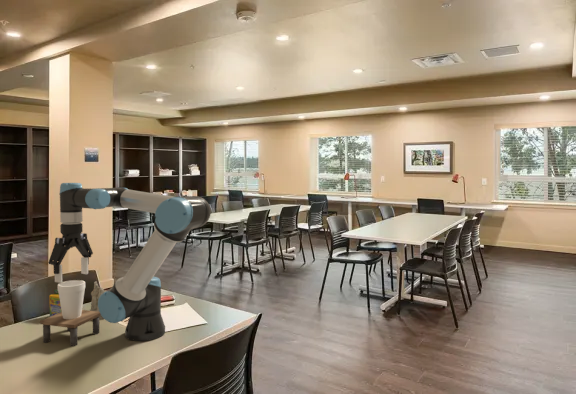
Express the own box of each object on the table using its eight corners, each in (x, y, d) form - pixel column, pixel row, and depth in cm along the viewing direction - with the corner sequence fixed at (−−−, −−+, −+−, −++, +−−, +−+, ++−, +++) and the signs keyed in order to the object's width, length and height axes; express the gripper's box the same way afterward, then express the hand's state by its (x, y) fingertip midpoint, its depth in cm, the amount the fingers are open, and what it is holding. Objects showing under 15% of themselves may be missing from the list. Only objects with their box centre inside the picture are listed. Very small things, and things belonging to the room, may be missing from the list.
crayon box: (49, 317, 182) (48, 291, 182) (54, 314, 185) (54, 289, 185) (62, 319, 180) (62, 292, 180) (67, 316, 183) (67, 291, 182)
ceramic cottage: (97, 320, 179) (99, 285, 179) (84, 312, 190) (85, 279, 191) (132, 314, 190) (134, 282, 190) (118, 307, 201) (119, 276, 202)
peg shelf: (101, 332, 167) (101, 312, 166) (74, 347, 152) (74, 325, 152) (70, 328, 170) (70, 308, 170) (40, 342, 155) (40, 320, 155)
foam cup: (73, 321, 155) (73, 287, 154) (52, 319, 157) (51, 285, 156) (90, 313, 164) (90, 281, 164) (70, 311, 166) (69, 279, 165)
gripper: (86, 219, 171) (86, 270, 173) (36, 226, 147) (37, 285, 148) (101, 220, 170) (102, 271, 171) (54, 227, 145) (55, 286, 147)
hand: (72, 277), depth 160 cm, fingers open, 13 cm apart
